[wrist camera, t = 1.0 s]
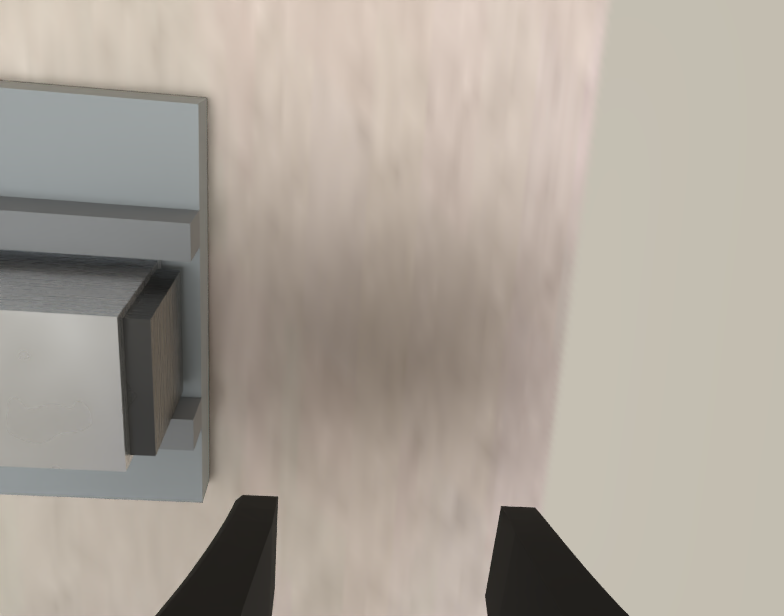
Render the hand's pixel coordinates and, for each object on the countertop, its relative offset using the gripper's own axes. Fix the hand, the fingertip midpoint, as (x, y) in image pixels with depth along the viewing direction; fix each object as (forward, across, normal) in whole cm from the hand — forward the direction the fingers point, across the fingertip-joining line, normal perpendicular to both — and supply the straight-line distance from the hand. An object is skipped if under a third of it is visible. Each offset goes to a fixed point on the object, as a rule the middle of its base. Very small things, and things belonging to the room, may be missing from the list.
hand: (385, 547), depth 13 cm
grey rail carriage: (+9, +8, 0) cm, 12 cm away
